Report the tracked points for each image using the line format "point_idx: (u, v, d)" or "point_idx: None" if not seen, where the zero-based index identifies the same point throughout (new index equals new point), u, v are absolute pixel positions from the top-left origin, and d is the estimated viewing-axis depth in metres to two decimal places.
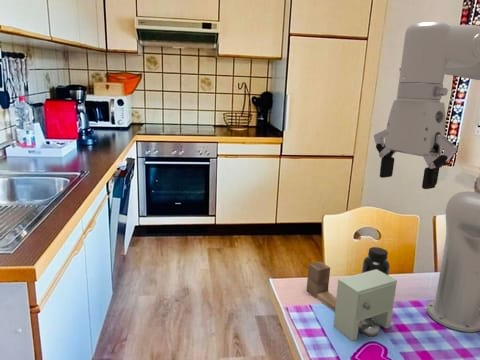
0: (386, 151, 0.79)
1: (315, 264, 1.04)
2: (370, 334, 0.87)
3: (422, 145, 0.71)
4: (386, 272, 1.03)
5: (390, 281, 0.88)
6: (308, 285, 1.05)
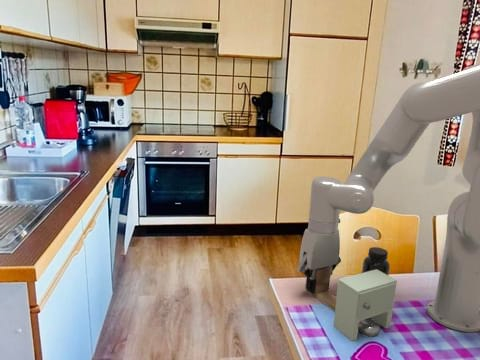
0: (314, 272, 1.01)
1: None
2: (370, 334, 0.87)
3: (336, 258, 1.03)
4: (386, 272, 1.03)
5: (390, 281, 0.88)
6: None
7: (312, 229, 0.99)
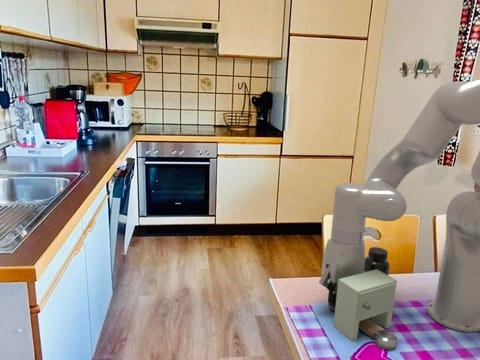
0: None
1: None
2: (388, 347, 0.83)
3: (361, 270, 0.95)
4: (386, 272, 1.03)
5: (390, 281, 0.88)
6: None
7: (336, 240, 0.91)
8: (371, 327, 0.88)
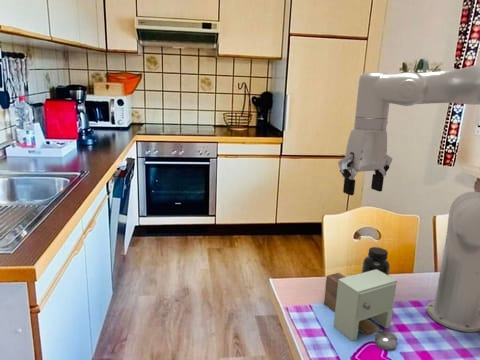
0: (355, 173, 0.95)
1: (333, 275, 0.98)
2: (388, 347, 0.83)
3: (383, 162, 0.98)
4: (386, 272, 1.03)
5: (390, 281, 0.88)
6: (326, 298, 0.99)
7: (360, 127, 0.94)
8: (365, 325, 0.90)
